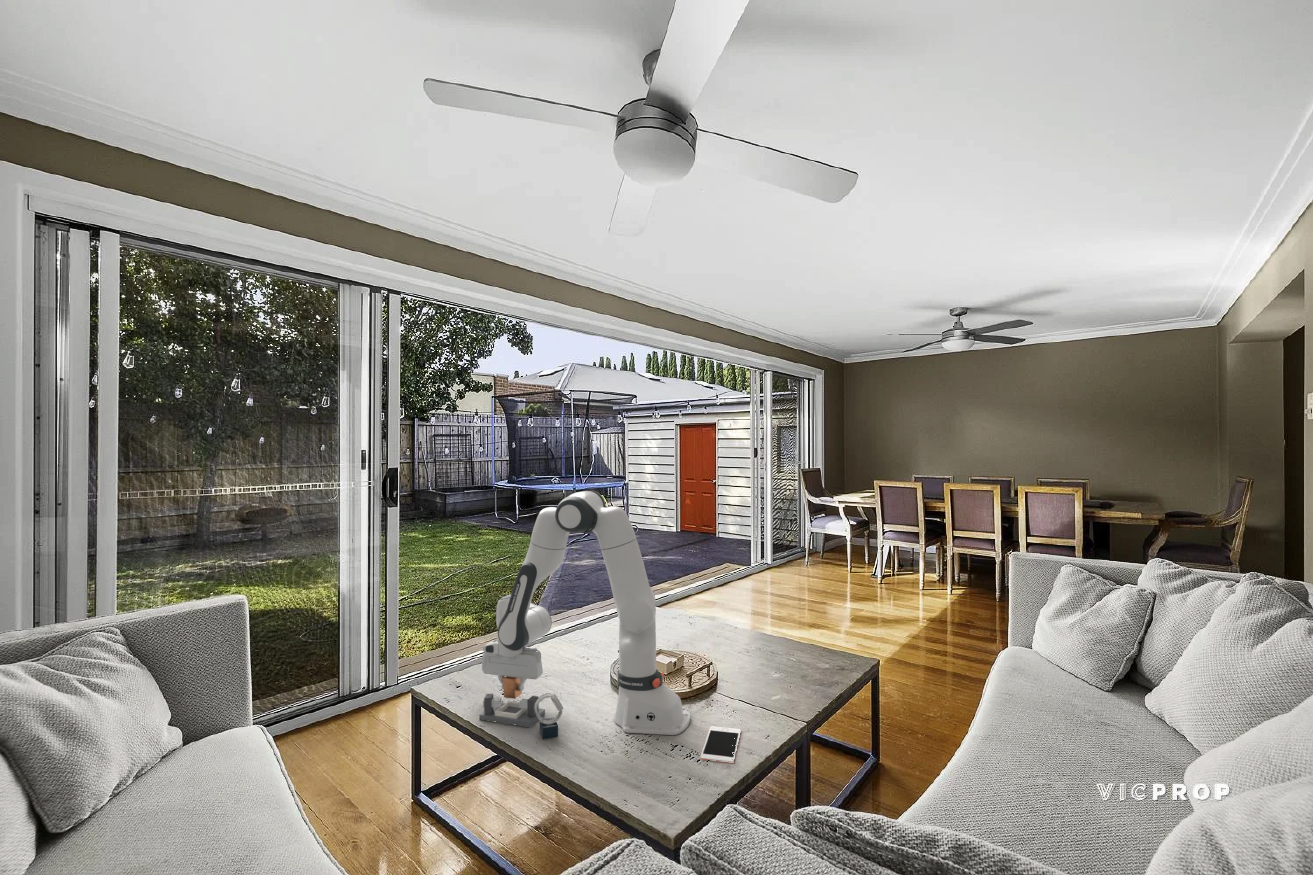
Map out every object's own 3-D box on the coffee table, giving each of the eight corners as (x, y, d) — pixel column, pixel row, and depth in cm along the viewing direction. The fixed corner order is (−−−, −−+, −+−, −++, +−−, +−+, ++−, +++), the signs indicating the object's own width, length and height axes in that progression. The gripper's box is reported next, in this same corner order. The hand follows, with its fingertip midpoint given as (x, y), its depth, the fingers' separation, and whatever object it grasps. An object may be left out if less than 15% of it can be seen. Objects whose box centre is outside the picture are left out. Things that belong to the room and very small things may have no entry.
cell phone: (741, 732, 173) (741, 728, 173) (734, 765, 156) (734, 761, 156) (710, 728, 176) (710, 725, 176) (699, 760, 158) (699, 757, 158)
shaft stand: (545, 714, 185) (544, 692, 185) (529, 727, 177) (529, 705, 177) (496, 706, 190) (496, 686, 190) (479, 719, 182) (479, 697, 182)
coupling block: (521, 693, 194) (521, 674, 194) (515, 698, 191) (514, 679, 191) (510, 692, 196) (510, 673, 196) (503, 697, 192) (503, 678, 192)
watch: (565, 735, 172) (564, 696, 172) (536, 740, 169) (536, 700, 169) (561, 726, 177) (560, 688, 177) (533, 731, 174) (532, 692, 174)
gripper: (545, 645, 193) (546, 689, 193) (490, 639, 199) (491, 682, 199) (535, 651, 187) (536, 697, 187) (478, 646, 193) (479, 690, 193)
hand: (512, 689), depth 193 cm, fingers closed on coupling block, 4 cm apart
